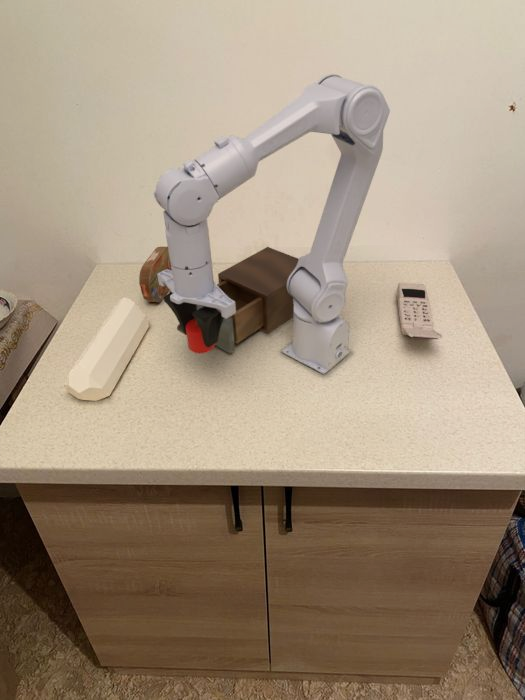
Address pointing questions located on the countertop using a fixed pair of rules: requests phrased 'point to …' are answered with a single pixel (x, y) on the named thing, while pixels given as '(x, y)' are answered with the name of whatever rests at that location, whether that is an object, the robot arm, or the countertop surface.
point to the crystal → (107, 353)
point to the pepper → (196, 338)
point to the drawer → (239, 316)
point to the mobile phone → (415, 311)
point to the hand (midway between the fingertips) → (200, 337)
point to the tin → (154, 275)
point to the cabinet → (266, 283)
